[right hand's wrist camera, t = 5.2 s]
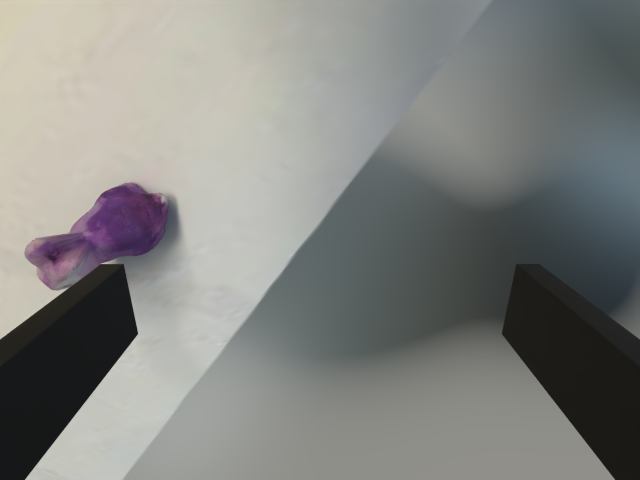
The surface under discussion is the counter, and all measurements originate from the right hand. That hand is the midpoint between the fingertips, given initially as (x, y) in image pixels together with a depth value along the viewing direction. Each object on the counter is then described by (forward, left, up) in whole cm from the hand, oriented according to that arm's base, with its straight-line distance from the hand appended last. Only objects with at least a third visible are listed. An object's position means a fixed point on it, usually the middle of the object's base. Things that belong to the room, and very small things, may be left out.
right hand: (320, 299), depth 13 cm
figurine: (+8, -23, -33) cm, 41 cm away
